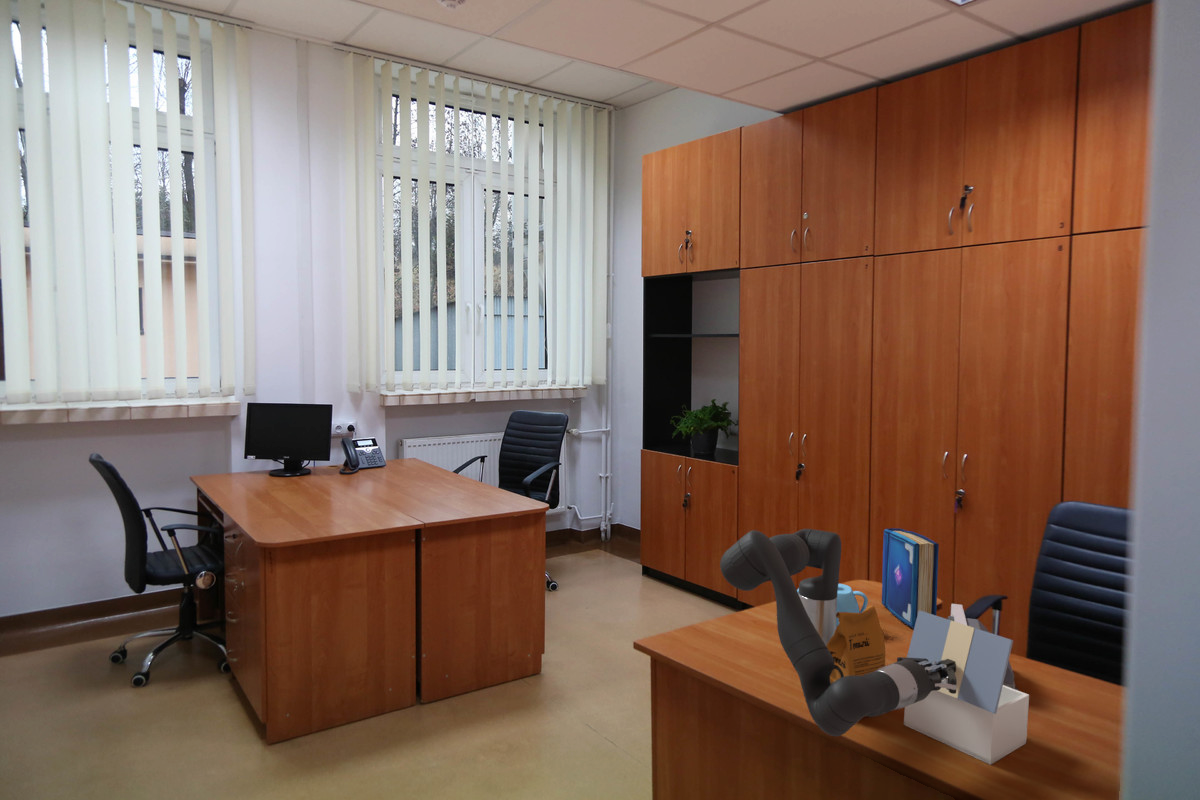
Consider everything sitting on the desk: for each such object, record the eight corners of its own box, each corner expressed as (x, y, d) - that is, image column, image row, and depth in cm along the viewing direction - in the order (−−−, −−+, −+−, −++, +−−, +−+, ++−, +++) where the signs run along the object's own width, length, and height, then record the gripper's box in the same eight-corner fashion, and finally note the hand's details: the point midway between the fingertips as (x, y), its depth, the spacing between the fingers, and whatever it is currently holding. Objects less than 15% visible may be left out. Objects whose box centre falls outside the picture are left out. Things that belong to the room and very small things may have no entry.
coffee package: (813, 702, 166) (817, 605, 164) (856, 693, 171) (860, 598, 169) (845, 724, 157) (849, 621, 155) (890, 713, 162) (894, 613, 160)
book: (877, 604, 230) (880, 524, 228) (899, 604, 231) (903, 524, 229) (912, 631, 209) (916, 543, 207) (936, 631, 209) (941, 543, 207)
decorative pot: (824, 642, 200) (826, 592, 199) (788, 621, 215) (790, 574, 214) (873, 635, 206) (875, 586, 205) (835, 614, 221) (837, 569, 220)
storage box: (990, 764, 142) (993, 713, 141) (903, 724, 157) (906, 678, 156) (1026, 743, 150) (1029, 694, 149) (940, 707, 165) (943, 662, 164)
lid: (996, 713, 141) (993, 713, 140) (904, 676, 156) (901, 676, 156) (1013, 640, 143) (1011, 639, 142) (920, 610, 158) (918, 610, 158)
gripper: (932, 678, 133) (985, 658, 143) (868, 652, 144) (922, 635, 154) (929, 719, 134) (983, 696, 144) (867, 690, 145) (920, 671, 155)
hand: (951, 664), depth 149 cm, fingers closed
